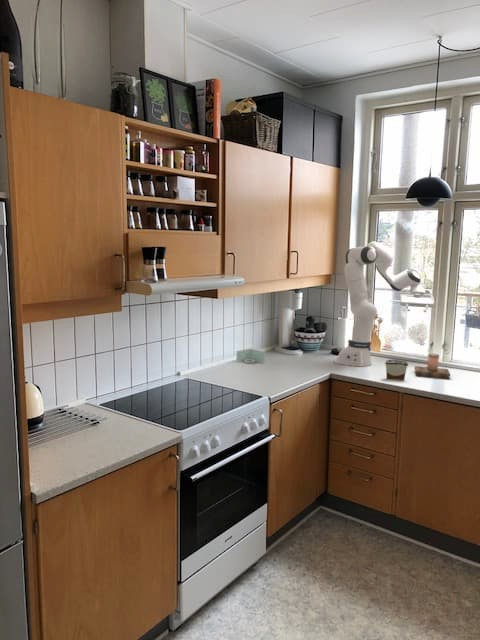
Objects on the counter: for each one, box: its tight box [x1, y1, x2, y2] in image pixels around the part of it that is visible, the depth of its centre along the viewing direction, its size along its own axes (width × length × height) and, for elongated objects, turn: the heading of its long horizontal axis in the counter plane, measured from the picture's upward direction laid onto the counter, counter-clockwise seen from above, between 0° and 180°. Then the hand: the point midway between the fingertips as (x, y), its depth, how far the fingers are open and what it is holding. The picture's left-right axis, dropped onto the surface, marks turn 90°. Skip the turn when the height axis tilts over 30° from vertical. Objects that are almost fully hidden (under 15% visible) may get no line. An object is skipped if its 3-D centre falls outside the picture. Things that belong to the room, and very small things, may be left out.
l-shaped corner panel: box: [236, 348, 266, 365], centre depth 308 cm, size 12×12×8 cm
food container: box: [384, 359, 409, 381], centre depth 282 cm, size 12×6×10 cm, turn 84°
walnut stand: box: [414, 365, 451, 380], centre depth 293 cm, size 18×13×3 cm
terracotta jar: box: [426, 353, 440, 371], centre depth 292 cm, size 6×6×9 cm
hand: (416, 311), depth 316 cm, fingers open, 8 cm apart
